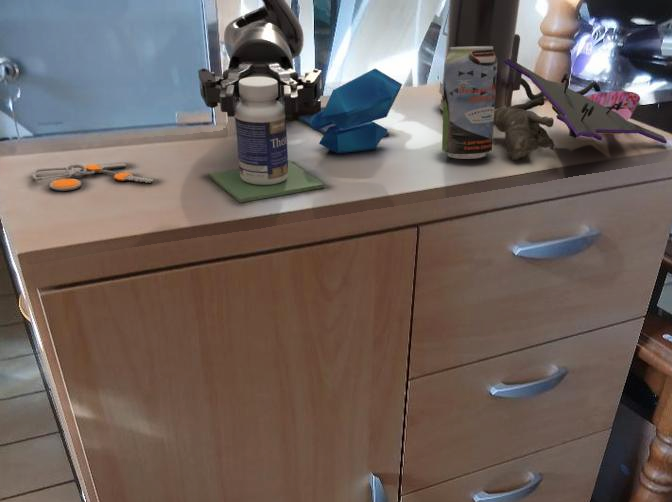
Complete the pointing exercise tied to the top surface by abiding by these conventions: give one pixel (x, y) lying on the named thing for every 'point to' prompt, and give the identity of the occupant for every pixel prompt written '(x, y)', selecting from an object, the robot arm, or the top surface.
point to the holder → (305, 111)
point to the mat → (249, 192)
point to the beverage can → (469, 101)
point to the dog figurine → (523, 128)
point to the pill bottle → (261, 132)
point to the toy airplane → (583, 110)
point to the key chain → (74, 183)
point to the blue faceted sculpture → (357, 113)
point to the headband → (611, 98)
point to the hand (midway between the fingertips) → (259, 106)
